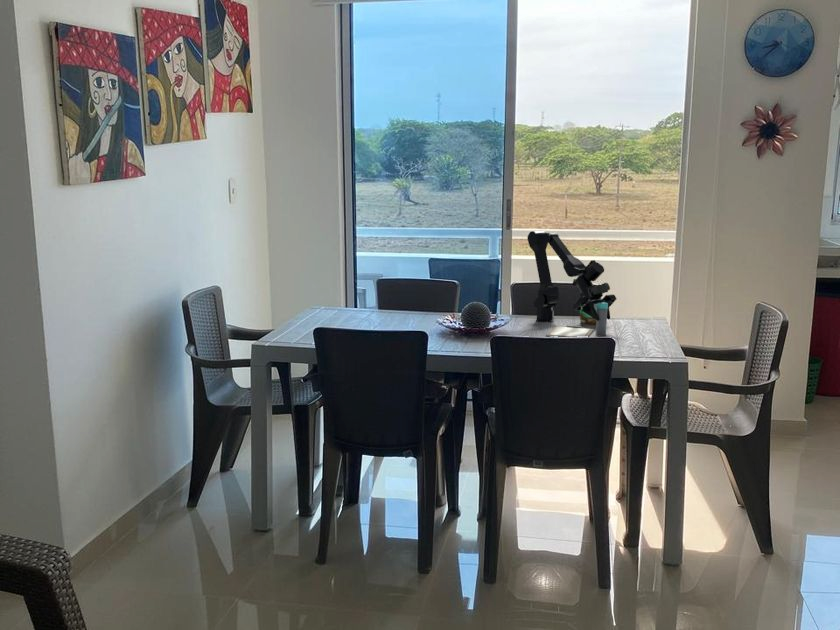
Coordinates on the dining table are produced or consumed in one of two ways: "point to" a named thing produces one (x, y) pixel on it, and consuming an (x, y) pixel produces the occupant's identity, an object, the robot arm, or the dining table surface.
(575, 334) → the clipboard
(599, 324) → the marker
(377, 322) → the dining table surface
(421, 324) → the dining table surface
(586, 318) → the food container
